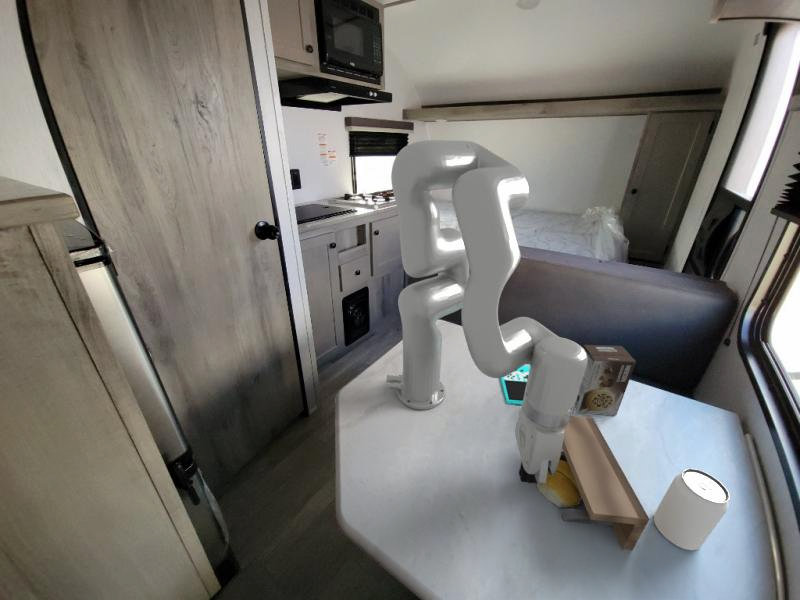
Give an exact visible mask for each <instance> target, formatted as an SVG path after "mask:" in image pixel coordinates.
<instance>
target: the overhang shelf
mask: <svg viewBox="0 0 800 600" xmlns="http://www.w3.org/2000/svg"><path fill="white" fill-rule="evenodd" d="M616 458H617V457H616V456H615V455H614V453H613V451H612V450H611V447H610V446H609V444H608V442H607V440H606V439H605V437H604V435H603V433H602V432H601V429H600V427H599V426H598V425H597V423H596V421H595V418H594V417H587V416H585V417H584V416H576V415H575V416H574V415H571V418H570V422H569V425H568V426H567V427H566V428H565V429H564V439H563V445H562V451H561V455H560V460H562V461H566V462H568V464H569V467H570V469H571V472H572V474H573V476H574V479H575V481H576V484H577V486H578V489H579V491H580V494H581V496H582V498H581V499H582V501H583V503H584V506H585V508H586V509H578V508H577V509H576V508H569V507H563V510H562V513H561V517H562V521H563V522H571V523H578V524H579V523H580V524H589V525H597V526H606V527H611V528H612V529H613V532H614V534H615V536H616V538H617V540H618V543H619V545H620V548H621V550H626V551H627V550H628V551H633V550H634V548H635V546H636V544H637V542H638V541H639V540H640V537H641V536H642V533H643V532H644V530H645V528H646V527H647V525H648V523H649V522H650V517H649V515H648V514H647V512H646V510H645V508H644V507H643V505H642V503H641V501H640V499H639V498H638V496H637V494H636V491H634V489H633V487H632V486H631V484H630V482H629V480H628V478H627V476H626V475H625V473H624V471H623V469H622V468H621V467H622V466H621V465H620V464H619V462H618V460H617V459H616Z"/></svg>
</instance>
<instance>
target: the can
mask: <svg viewBox="0 0 800 600" xmlns="http://www.w3.org/2000/svg"><path fill="white" fill-rule="evenodd" d="M730 499H731V497H730V493H729V491H728V489H727V488H726V486H725V485H724V484H723V483H722V482H721V481H720V480H718V478H716V477H715V476H713V475H711V474H709V473H708V472H705V471H703V470H700V469H697V468H692V467H691V468H685V469H683V471H682V472H679V473H678V474H676V476H674V478H673V480H672V482H671V483H670V485H669V486H668V489H667V490H666V492H665V494H664V496H663V497H662V499H661V501H660V503H659V504H658V507H657V508H656V510H655V512H654V515H653V521H654V524H655V526H656V528H657V530H658V531H659V532H660V534H661V535H662V536H663V537H664V538H665V539H666V540H668V542H670V543H671V544H673V545H674V546H676V547H678V548H680V549H682V550H687V551H697V550H699V549H700V548H701V547H702V546H703V544H704V543H705V542H706V540H707V539H709V537H710V535H711V534H712V533H713V531H714V530H715V528H716V527H717V525H718V524H719V523H720V522H721V520H722V518H723V517H724V516H725V514H726V513H727V512H728V509H729V506H730V505H729V503H730V502H729V501H730Z"/></svg>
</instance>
